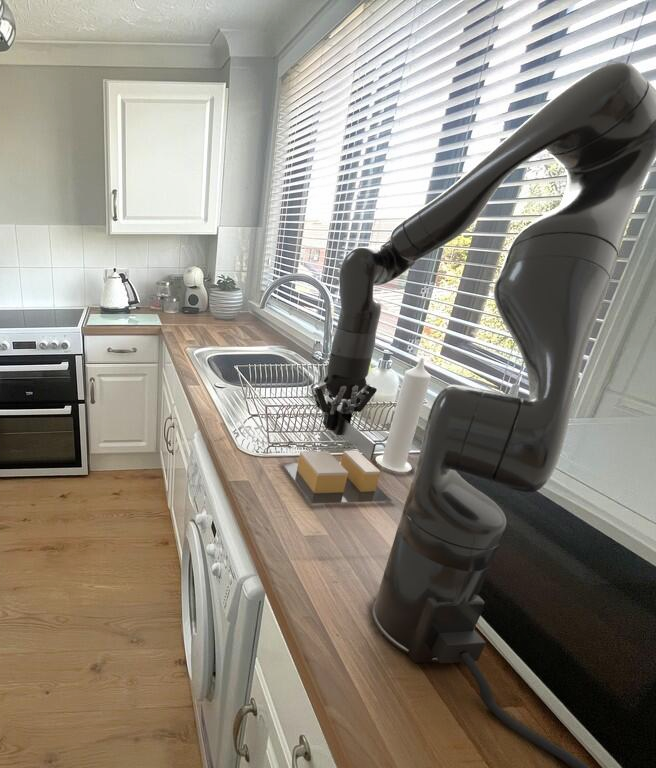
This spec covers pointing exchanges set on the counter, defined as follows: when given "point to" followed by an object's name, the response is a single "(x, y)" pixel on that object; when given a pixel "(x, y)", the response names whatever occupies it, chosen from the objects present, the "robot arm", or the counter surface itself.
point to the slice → (360, 471)
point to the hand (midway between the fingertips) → (335, 428)
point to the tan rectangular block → (322, 472)
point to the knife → (352, 432)
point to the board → (348, 495)
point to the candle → (405, 419)
